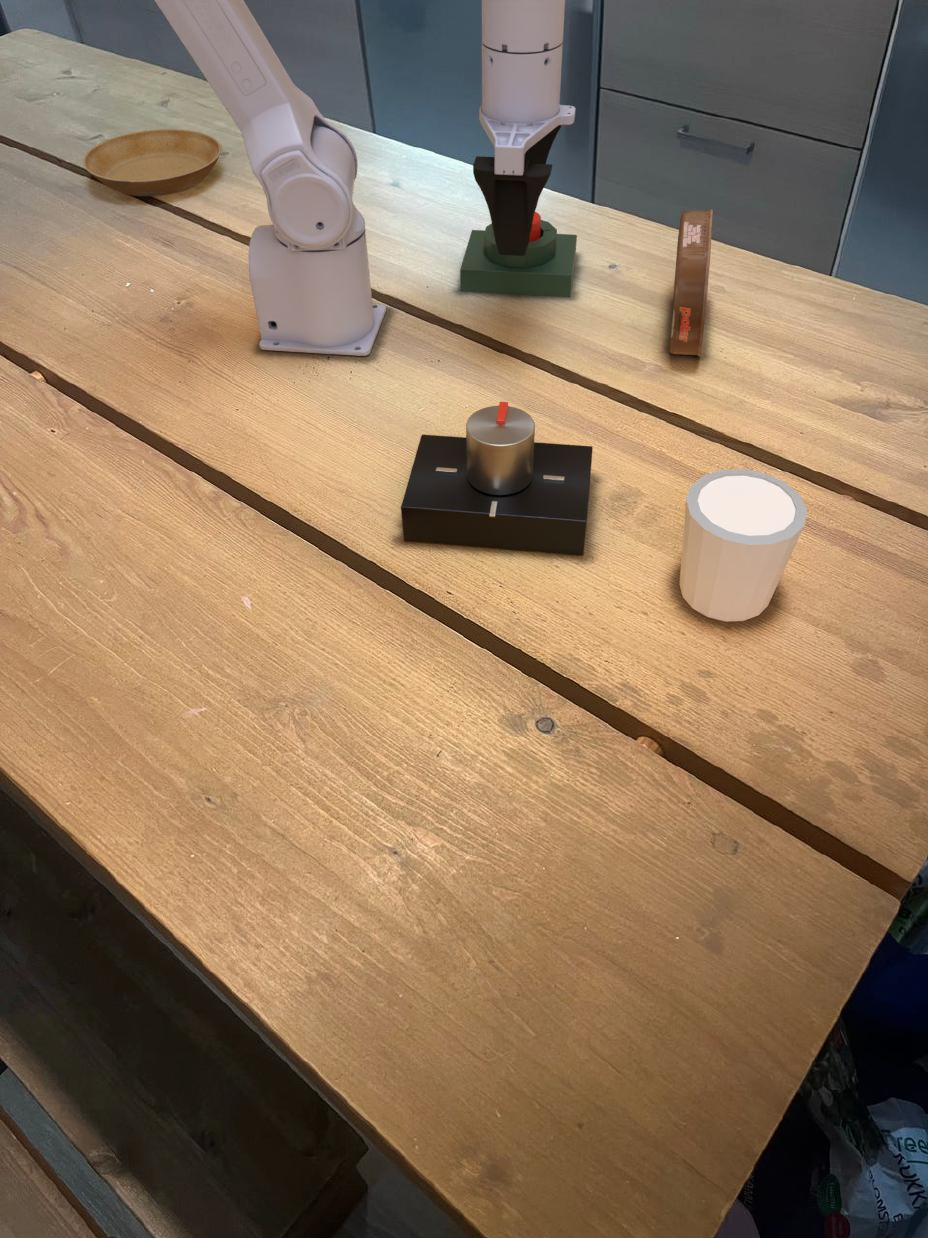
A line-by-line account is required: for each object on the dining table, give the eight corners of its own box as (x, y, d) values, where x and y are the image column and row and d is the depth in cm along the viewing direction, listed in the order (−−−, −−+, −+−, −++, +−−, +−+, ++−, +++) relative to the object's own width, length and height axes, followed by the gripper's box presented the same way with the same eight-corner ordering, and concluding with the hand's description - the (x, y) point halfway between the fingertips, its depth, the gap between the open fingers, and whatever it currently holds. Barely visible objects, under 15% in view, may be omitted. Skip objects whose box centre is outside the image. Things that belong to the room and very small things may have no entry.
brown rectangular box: (699, 376, 77) (717, 277, 71) (659, 372, 77) (674, 274, 71) (704, 286, 87) (721, 192, 81) (669, 283, 87) (683, 190, 81)
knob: (530, 497, 62) (532, 443, 59) (462, 493, 62) (461, 439, 59) (535, 456, 65) (537, 403, 62) (471, 452, 65) (470, 399, 62)
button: (498, 244, 85) (498, 224, 84) (502, 226, 88) (503, 207, 87) (538, 246, 85) (539, 226, 84) (541, 228, 87) (542, 209, 86)
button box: (460, 291, 87) (459, 249, 84) (472, 251, 92) (471, 210, 89) (570, 297, 86) (573, 255, 83) (575, 256, 91) (578, 215, 88)
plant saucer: (163, 142, 113) (158, 118, 111) (253, 169, 107) (249, 145, 105) (62, 185, 105) (54, 160, 103) (152, 217, 99) (146, 192, 97)
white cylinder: (757, 645, 57) (784, 559, 52) (652, 602, 59) (667, 517, 54) (795, 576, 61) (824, 490, 56) (694, 539, 63) (713, 453, 58)
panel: (402, 544, 64) (399, 507, 61) (424, 465, 69) (422, 429, 67) (583, 559, 62) (586, 522, 60) (589, 477, 68) (593, 441, 66)
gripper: (571, 77, 62) (559, 276, 71) (585, 12, 71) (573, 195, 81) (463, 74, 62) (466, 271, 72) (492, 10, 72) (491, 191, 82)
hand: (517, 231), depth 77 cm, fingers open, 7 cm apart
